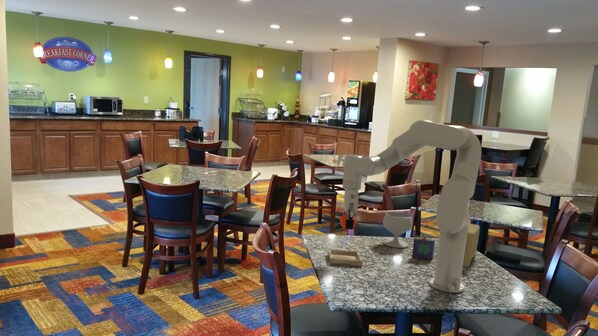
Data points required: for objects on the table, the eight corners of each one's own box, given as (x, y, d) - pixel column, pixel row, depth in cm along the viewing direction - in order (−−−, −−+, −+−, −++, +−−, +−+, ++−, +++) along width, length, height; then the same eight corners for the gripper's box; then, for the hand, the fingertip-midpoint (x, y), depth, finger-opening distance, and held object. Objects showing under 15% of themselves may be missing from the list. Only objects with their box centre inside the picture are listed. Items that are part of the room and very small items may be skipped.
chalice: (405, 251, 217) (408, 219, 215) (376, 244, 224) (379, 214, 222) (413, 244, 229) (417, 214, 227) (386, 238, 236) (389, 209, 234)
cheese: (478, 269, 199) (482, 235, 197) (454, 265, 202) (458, 231, 200) (475, 255, 220) (480, 224, 218) (454, 251, 223) (458, 221, 221)
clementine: (356, 232, 191) (358, 215, 190) (339, 231, 191) (341, 214, 190) (354, 227, 198) (356, 211, 198) (338, 226, 199) (340, 210, 198)
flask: (432, 258, 209) (434, 235, 208) (433, 260, 206) (436, 237, 205) (411, 256, 209) (413, 233, 208) (412, 258, 207) (415, 235, 205)
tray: (362, 267, 190) (362, 261, 190) (330, 264, 190) (330, 258, 189) (357, 256, 203) (358, 251, 203) (328, 254, 203) (328, 249, 202)
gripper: (364, 189, 184) (359, 232, 186) (358, 182, 201) (354, 221, 203) (345, 187, 183) (341, 231, 186) (340, 180, 201) (337, 220, 203)
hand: (347, 226), depth 194 cm, fingers closed on clementine, 8 cm apart
